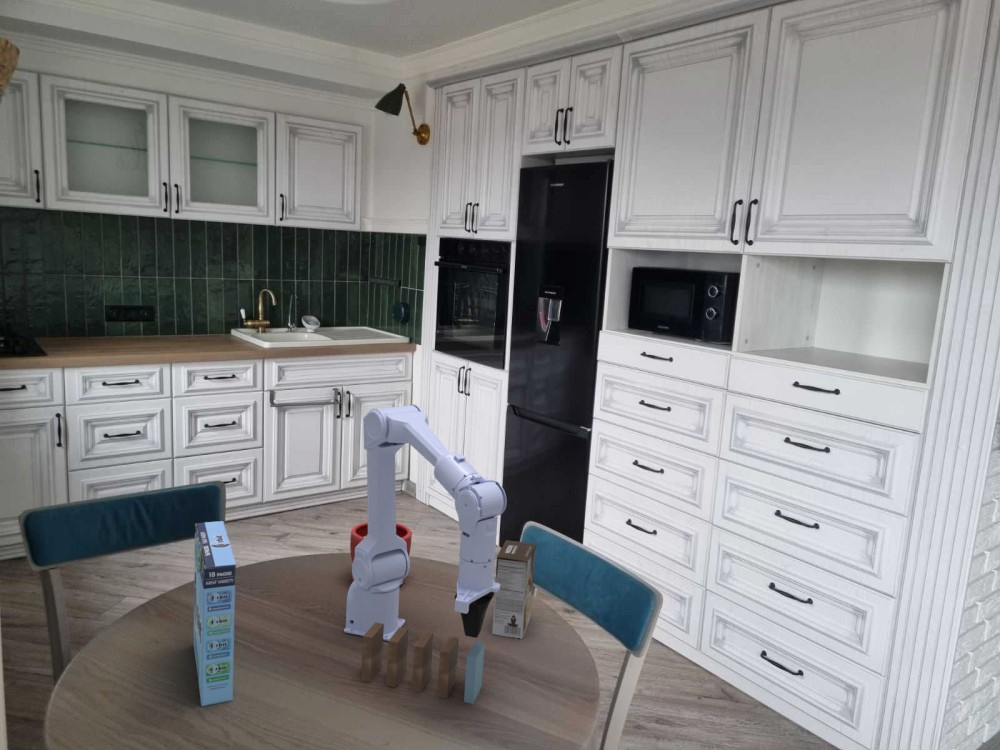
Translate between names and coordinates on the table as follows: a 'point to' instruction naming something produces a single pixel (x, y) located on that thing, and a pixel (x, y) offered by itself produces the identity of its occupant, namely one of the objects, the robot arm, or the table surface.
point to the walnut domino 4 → (447, 667)
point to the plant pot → (362, 531)
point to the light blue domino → (474, 672)
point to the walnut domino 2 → (397, 656)
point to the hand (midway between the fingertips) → (472, 634)
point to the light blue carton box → (214, 612)
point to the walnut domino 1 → (372, 651)
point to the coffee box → (514, 589)
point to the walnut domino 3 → (422, 662)
